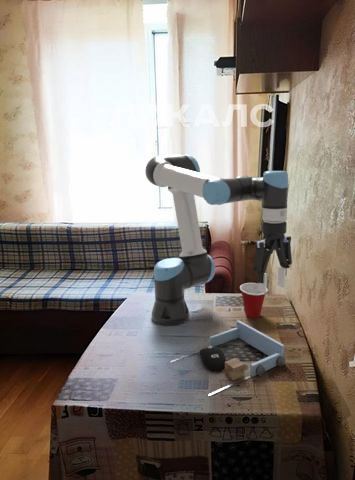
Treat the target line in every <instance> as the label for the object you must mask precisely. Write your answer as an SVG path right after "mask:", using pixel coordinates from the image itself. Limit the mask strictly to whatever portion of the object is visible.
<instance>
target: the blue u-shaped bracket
mask: <svg viewBox="0 0 355 480" xmlns="http://www.w3.org/2000/svg"><path fill="white" fill-rule="evenodd" d="M208 338H209V339H208V340H209V341H208V342H209V344H208V345H209V346H212V347H214V346H215V347H218V346H220V344H221V345H223V344H226V343H228V341H229V342H231V341H234V340H236V338H237V339H240V340H241V341H243V342H245V343H247V344H248V345H250V346H252V347H253V348H255V349H256V350H258V351H260V352H261V353H263V354H265V355H267V357H264V358H262V359H259V360H257V361H255V362H253V363H250V365H249V367H250V369H249V372H250V373H249V376H250V375H251V376H252V377H251V378H253V377H256V376H257V374H258V376H260V377H261V376H263V375H264V374H265V372H266V370H267V371H268V369H269V370H271V369H273V368H275V367H283V366H284V365H285V362H286V358H285V344H283V343H282V342H280V341H277V340H276V339H274V338H272V337H270V336H269V335H267V334H265V333H263V332H261V331H259V330H258V329H256V328H254V327H252V326H251V325H248V324H246V323H244V322H243V321H241V320H239V319H237V320H236V327H234V328H231V329H228V330H225V331H222V332H220V333H217V334H214V335H210V336H209V337H208ZM233 339H234V340H233ZM230 340H231V341H230ZM225 342H226V343H225ZM222 343H223V344H222ZM217 345H218V346H217ZM277 365H278V366H277ZM270 368H271V369H270ZM255 375H256V376H255Z"/></svg>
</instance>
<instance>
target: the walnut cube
mask: <svg viewBox="0 0 355 480" xmlns="http://www.w3.org/2000/svg"><path fill="white" fill-rule="evenodd" d="M224 374H225V375H226V376H227V377H228V378H230V379H231V380H232V381H235V380H238V379H240V378H242V377H244V376H245V363H244V362H242V361H240V360H239V359H238V358H236V357H233V358H231V359H229V360H226V362H225V369H224Z"/></svg>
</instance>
